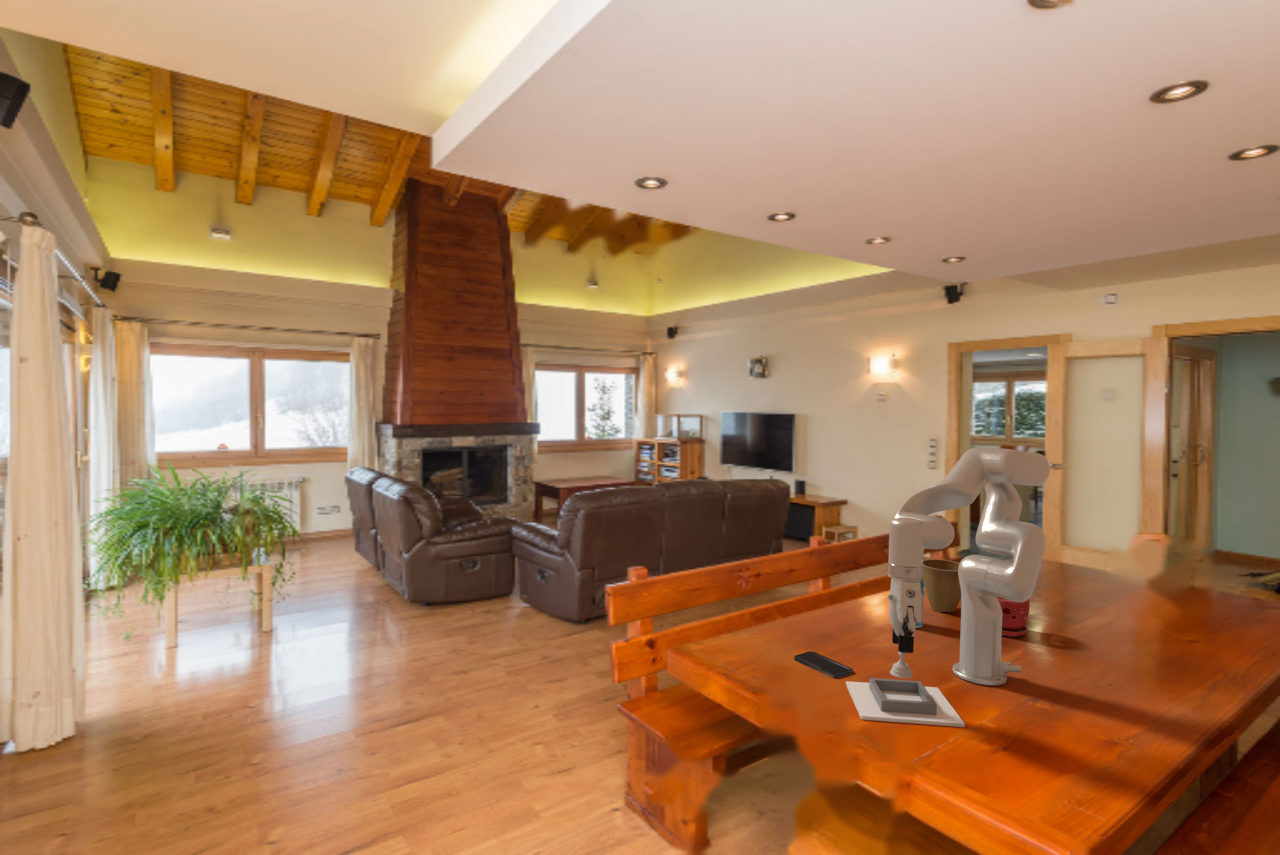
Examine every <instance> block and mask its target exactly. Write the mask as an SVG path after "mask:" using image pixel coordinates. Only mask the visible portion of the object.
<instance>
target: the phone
mask: <svg viewBox="0 0 1280 855" xmlns="http://www.w3.org/2000/svg"><path fill="white" fill-rule="evenodd" d="M793 658H794V659H793V660H794V661H795V662H798V663H800V664H802V665H805V667H808V668H810V669H812V670H815V671H817V672H819V673H821V674H824V675H825V676H827V677H830V678H832V679H839V678H840V679H841V678H843V677H846V676H850V675H852V674H854V669H853V668H852V667H849V666H847V665H845V664H843V663H841V662H839V661H836V660H835V659H831V658H829V657H827V656H824V655H822V654H820V653H818V652H816V651H813V650H812V651H810V650H809V651H806V652H802V653H798V654H795V655H794V656H793Z"/></svg>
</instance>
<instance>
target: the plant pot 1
mask: <svg viewBox="0 0 1280 855" xmlns="http://www.w3.org/2000/svg"><path fill="white" fill-rule="evenodd" d="M959 564H960V562H958V561H953V560H947V559H938V558H937V559H935V558H934V559H933V558H931V559H923V579H922V580H923V582H924V589H925V590H924V591H925V593H926V597H927V600H928V603H929V607H930V608H931V610H932V609H933V610H932V611H934V610H935V611H934V612H937V611H939V612H938V613H941V612H953V613H955V612H956V610H957V608H958V605H959V604H960V600H961V588H960V582H959V577H958V567H959ZM954 611H955V612H954Z"/></svg>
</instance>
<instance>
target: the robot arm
mask: <svg viewBox="0 0 1280 855" xmlns="http://www.w3.org/2000/svg"><path fill="white" fill-rule="evenodd" d="M1050 471H1051V467H1050V463H1049V460H1048V459H1047V458H1046V457H1045V456H1044V455H1043V454H1041V453H1038V452H1032V451H1031V452H1029V451H1023V450H1018V449H1011V448H998V447H986V446H985V447H984V446H977V447H976V446H975V447H971V448H968V449H967V450H966V451H965V452H964V453H963V454H962V455H961V456H960V458H959V459H958V460H957V462H955V464H954V466H953V467H952V468H951V469H950V471H949V472H948V473H947V474H946V475H945V477H944V478H943V479H942V480H941V481H939V482H938V483H935V484H933V485H931V486H929V487H926V488H924V489H922V490H920V491H918V492H915V493H914V494H913V495H911V496H909V497H908V498H907V499H906V500H905V501H904V503H903V504H902V505H901V506H900V507H899V509H898V510H897V512H896V513H895V514H894V517H893V519H891V521H890V523H889V530H888V532H889V534H888V535H889V536H888V562H887V563H888V565H887V569H888V570H887V576H888V578H891V579H890V589H889V595H891V599H892V600H895V601H897V602H896V613H897V620H898V621H899V622H900V634H901V635H900V634H899V636H897V635H896V633H895V631H894V629H893V628H892V632H891V633H892V638H891V641H892V643H893V644H895V645H898V648H897V650H898V652H903V653H906V654H913V653H914V647H915V646H914V645H915V644H914V642H915V630H916V628H915V621H916V623H917V624H921V622H922V601H921V585H920V581H921V580H923V560H924V550H925V549H928V550H943V549H945V548H947V547H948V546H950V545H951V544H952V543H953V541H954V539H955V534H956V532H955V528H954V526H953V525H952V523H951V522H949V521H948V520H947V519H945V518H943V517H938V516H934V515H932V514H935V513H939V512H944V511H951V510H956V509H961V508H965V507H968V506H970V505H971V504H973V503H974V501H975V500H976V499H977V497H978V496H979V495H980V493H982V491H983V490H985V502H984V506H983V509H982V513H981V517H980V519H979V524H978V526H977V530H976V534H975V544H976V546H977V547H978V548H979V549H980V550H982V551H983V552H987V553H989V554H994V555H999V556H1002V557H1003V556H1004V557H1007V558H1008V557H1009V558H1013V559H1012V560H1013V561H1009V560H1003V559H1000V558H996V557H992V556H986V555H982V554H981V555H980V554H969V555H967V556H964V558H962V559H961V560H960V562H959V563H960V564H959V567H958V577H959V582H960V588H961V599H960V600H961V602H960V604H961V605H960V608H961V609H960V635H959V638H960V639H959V660H958V661H957V662H955V663H954V664H953V665H952V672H953V674H955V676H957V677H958V678H960V679H962V680H964V681H967V682H970V683H973V684H978V685H983V686H1000V685H1004V684H1006V683H1007V681H1008V676H1007V674H1009V673H1012V674H1013V673H1014V674H1021V672H1022V667H1021V665H1020V664H1012V663H1011V661H1003V660H1001V659H1002V639H1003V638H1002V636H1003V635H1002V609H1001V606H1000V603H999V601H998V598H1002V599H1006V600H1010V601H1014V602H1024V601H1026V600H1028V599H1029V600H1030V598H1031V597H1032V594H1033V593H1034V589H1035V586H1036V583H1037V580H1038V576H1039V572H1040V570H1041V566H1042V562H1043V558H1044V555H1045V550H1046V536H1045V533H1044V530H1043V529H1042V528H1041V527H1039V526H1038V525H1036V524H1035V523H1032V522H1031V523H1030V522H1027V521H1020V517H1021V513H1022V509H1023V502H1022V498H1021V497H1020V495H1019V493H1018V491H1017V490H1016V489H1015V487H1014V485H1019V486H1029V487H1038V486H1041V485H1043V484H1044V483H1046V481H1047V480H1048V478H1049V476H1050V473H1051V472H1050ZM997 597H998V598H997ZM914 616H915V619H914ZM903 619H907V621H908V622H904V620H903ZM914 620H915V621H914ZM904 625H907V627H905V628H904Z"/></svg>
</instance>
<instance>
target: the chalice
mask: <svg viewBox="0 0 1280 855" xmlns="http://www.w3.org/2000/svg"><path fill="white" fill-rule="evenodd" d="M887 598H888V601H889V610H888V611H889V612H888V614H889V615H888V617H889V618H888V619H889V621H890V624H891V626H892V630H893V629H894V631H895V633H896V635H897V636H899V634H900V622H899V621H898V620H897V613H896V602H897V601H895V600H892V599H891V595H890V594H888V595H887ZM914 619H915V616H914ZM903 620H904V622H908V621H907V619H903ZM914 621H915V620H914ZM915 625H916V621H915ZM905 627H907V625H904V628H905ZM900 635H901V634H900ZM897 654H898V656H899V660H898V661H896V662H894V663H893V665H892V666H891V669H890V670H889V673H890V675H891V676H893V677H896V678H900V679H911V678H913V677H914V675H913V673H912V669H911V666H910V665H909V664H908V663H907V662H906V661H905V656H906V655H907V653H903V652H899V651H898V652H897Z"/></svg>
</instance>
